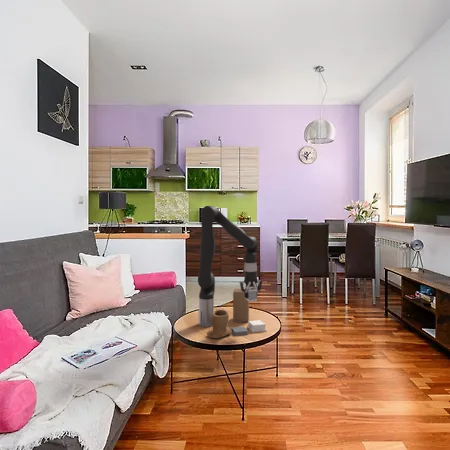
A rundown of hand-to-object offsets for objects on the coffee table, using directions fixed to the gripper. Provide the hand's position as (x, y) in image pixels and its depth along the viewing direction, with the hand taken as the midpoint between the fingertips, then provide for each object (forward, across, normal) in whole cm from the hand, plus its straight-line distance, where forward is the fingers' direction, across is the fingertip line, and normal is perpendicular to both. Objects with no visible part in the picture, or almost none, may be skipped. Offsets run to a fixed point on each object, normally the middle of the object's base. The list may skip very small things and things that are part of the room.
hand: (251, 298), depth 210 cm
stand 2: (+20, +4, +2) cm, 20 cm away
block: (+20, 0, +21) cm, 29 cm away
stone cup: (+20, -20, -4) cm, 28 cm away
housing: (+1, 0, 0) cm, 1 cm away
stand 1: (+20, -8, -1) cm, 21 cm away
